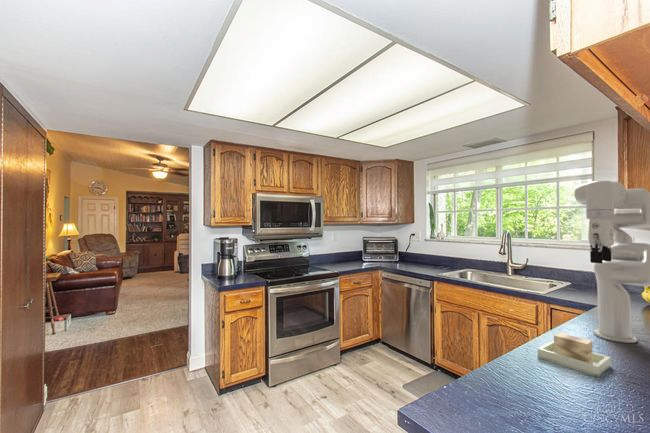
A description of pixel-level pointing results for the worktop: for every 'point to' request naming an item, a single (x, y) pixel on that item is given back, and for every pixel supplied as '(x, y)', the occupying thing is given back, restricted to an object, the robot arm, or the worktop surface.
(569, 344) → the block
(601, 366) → the tray
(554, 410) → the worktop surface
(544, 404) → the worktop surface
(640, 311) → the worktop surface
